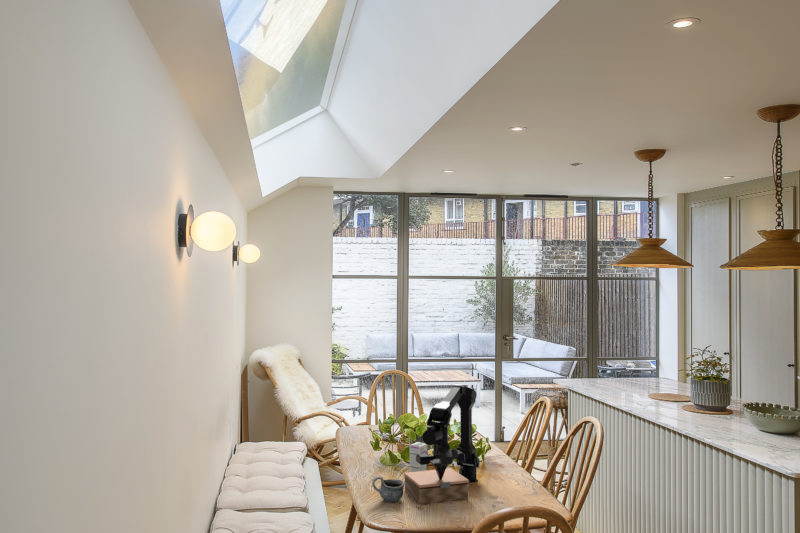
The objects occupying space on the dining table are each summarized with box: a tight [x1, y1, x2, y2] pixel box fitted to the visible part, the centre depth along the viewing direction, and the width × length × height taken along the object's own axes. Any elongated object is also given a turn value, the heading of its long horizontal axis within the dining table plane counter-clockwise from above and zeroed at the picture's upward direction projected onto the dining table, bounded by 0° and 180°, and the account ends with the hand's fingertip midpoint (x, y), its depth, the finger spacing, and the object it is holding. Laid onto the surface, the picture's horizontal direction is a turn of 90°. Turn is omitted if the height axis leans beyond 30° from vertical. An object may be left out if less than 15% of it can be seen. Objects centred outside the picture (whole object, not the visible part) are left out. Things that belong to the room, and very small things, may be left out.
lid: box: [404, 467, 470, 488], centre depth 244 cm, size 20×19×2 cm
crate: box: [404, 475, 469, 506], centre depth 244 cm, size 20×18×6 cm
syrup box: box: [408, 441, 429, 472], centre depth 266 cm, size 6×6×14 cm
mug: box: [371, 475, 405, 503], centre depth 237 cm, size 10×12×10 cm
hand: (440, 479), depth 239 cm, fingers closed
